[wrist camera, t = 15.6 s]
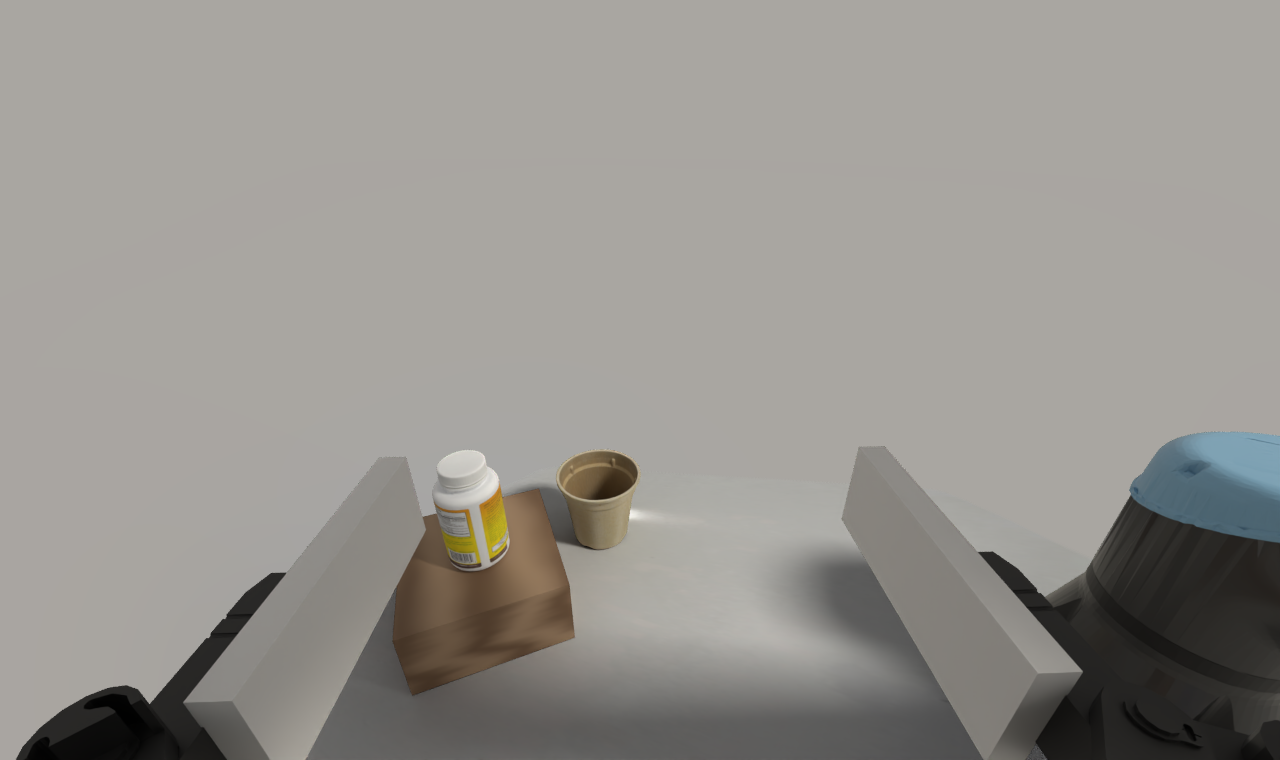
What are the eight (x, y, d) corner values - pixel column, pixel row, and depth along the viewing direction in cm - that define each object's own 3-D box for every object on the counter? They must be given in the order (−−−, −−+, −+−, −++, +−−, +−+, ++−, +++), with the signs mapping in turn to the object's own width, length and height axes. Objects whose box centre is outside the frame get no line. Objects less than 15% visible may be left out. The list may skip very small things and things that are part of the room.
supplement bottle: (505, 523, 48) (490, 438, 43) (515, 562, 43) (500, 472, 39) (446, 540, 46) (424, 453, 41) (451, 583, 41) (427, 490, 37)
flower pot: (657, 530, 56) (658, 472, 53) (598, 576, 50) (594, 514, 47) (604, 494, 62) (602, 440, 59) (546, 532, 56) (539, 474, 52)
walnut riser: (544, 535, 56) (538, 488, 53) (574, 637, 44) (569, 584, 41) (416, 571, 51) (402, 521, 48) (412, 695, 39) (392, 641, 36)
